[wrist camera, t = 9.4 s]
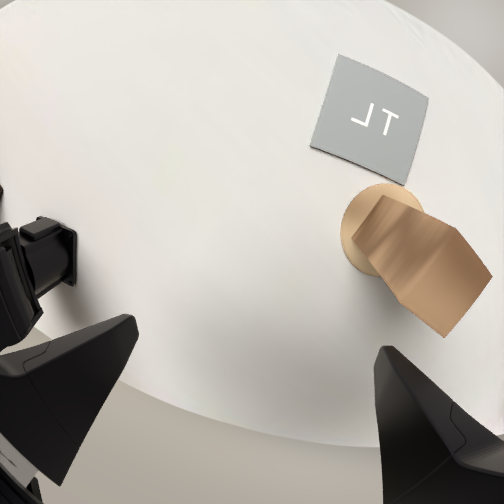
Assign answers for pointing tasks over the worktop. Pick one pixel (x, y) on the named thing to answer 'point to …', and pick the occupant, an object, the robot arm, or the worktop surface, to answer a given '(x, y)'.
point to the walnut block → (422, 262)
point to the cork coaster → (360, 211)
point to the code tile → (370, 119)
